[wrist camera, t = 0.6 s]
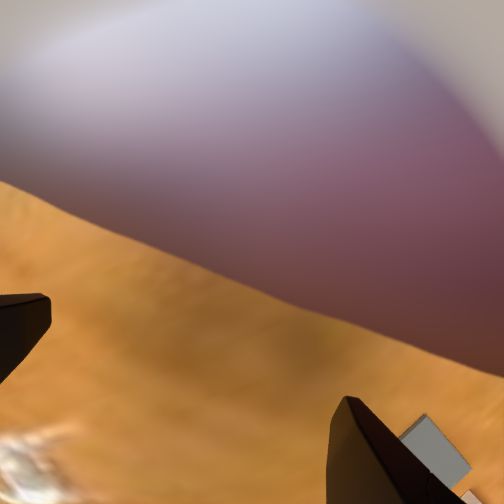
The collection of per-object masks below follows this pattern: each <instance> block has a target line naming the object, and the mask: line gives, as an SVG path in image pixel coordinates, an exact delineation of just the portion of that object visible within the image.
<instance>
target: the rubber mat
mask: <svg viewBox="0 0 504 504" xmlns="http://www.w3.org/2000/svg"><path fill="white" fill-rule="evenodd" d="M398 439H399V440H400V441H401V442H402V443H403V444H404V445H405V446H406V447H407V448H408V449H409V450H410V451H411V452H412V453H413V454H414V455H415V456H416V457H417V458H418V459H419V460H420V461H421V462H422V463H423V464H424V465H425V466H426V467H427V468H428V469H429V470H430V471H431V472H430V473H433V474H434V475H435V476H436V477H437V478H438V479H439V480H440V481H441V482H443V483H444V484H445V485H446V486H447V487H448V488H449V489H451V488H452V487H454V486H455V485H456V484H457V483H458V482H459V481H460V480H461V479H462V478H463V477H464V476H465V475H466V474H467V473H468V472H469V471H470V470H471V469H472V468H471V467H470V466H469V465H468V463H467V462H466V461H465V460H464V459H463V457H462V456H461V455H460V454H459V453H458V452H457V450H456V449H455V448H454V447H453V446H452V445H451V443H450V442H449V441H448V440H447V439H446V438H445V436H444V435H443V434H442V433H441V432H440V431H439V429H438V428H437V427H436V426H435V425H434V424H433V422H432V421H431V420H430V419H429V418H428V417H427V416H426V415H425V414H424V415H423V416H421V417H420V418H419V419H418V420H417V421H416V422H415V423H414V424H413V425H412V426H411V427H410V428H409V429H408V430H407V431H406V432H405V433H403V434H402V435H401V436H400V437H399V438H398Z"/></svg>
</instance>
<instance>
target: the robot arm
mask: <svg viewBox="0 0 504 504" xmlns="http://www.w3.org/2000/svg"><path fill="white" fill-rule="evenodd" d="M51 322H52V317H51V300H50V298H49V297H47V296H45V295H43V294H41V293H30V294H8V295H0V384H1V383H2V382H3V381H4V380H5V379H6V378H7V377H8V376H9V375H10V373H11V372H12V371H13V370H14V369H15V368H16V367H17V366H18V365H19V364H20V363H21V362H22V361H23V360H24V359H25V357H26V356H27V355H28V354H29V353H30V351H31V350H32V349H33V348H34V346H35V345H36V344H37V343H38V341H39V340H40V339H41V338H42V336H43V335H44V334H45V333H46V331H47V330H48V329H49V328H50V326H51ZM430 472H431V471H430V470H429V469H428V468H427V467H426V466H425V465H424V464H423V463H422V462H421V461H420V460H419V459H418V458H417V457H416V456H415V455H414V454H413V453H412V452H411V451H410V450H409V449H408V448H407V447H406V446H405V445H404V444H403V443H402V442H401V441H400V440H399V439H398V438H397V437H396V436H395V435H394V434H393V433H392V432H391V431H390V429H389V428H388V427H387V426H386V425H385V424H384V423H383V422H382V421H381V420H380V419H379V418H378V417H377V416H376V415H375V414H374V413H373V412H372V411H371V410H370V409H369V408H368V407H367V406H366V405H365V404H364V403H363V402H362V401H361V400H360V399H359V398H357V397H352V396H344V397H343V398H342V400H341V402H340V404H339V406H338V408H337V409H336V411H335V413H334V415H333V417H332V420H331V424H330V435H329V445H328V455H327V465H326V504H467V503H465V502H464V501H463V500H462V499H461V498H459V497H458V496H457V495H456V494H455V493H453V492H452V491H451V490H450V489H449V488H448V487H447V486H446V485H445V484H444V483H443V482H441V481H440V480H439V479H438V478H437V477H436V476H435V475H434V474H433V473H430Z"/></svg>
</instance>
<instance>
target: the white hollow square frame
mask: <svg viewBox="0 0 504 504" xmlns="http://www.w3.org/2000/svg"><path fill="white" fill-rule="evenodd" d="M460 498H461V499H462V500H463V501H464V502H465V503H467V504H482V503H481V502H480V501H479V500H478V499H477V498H476V497H475V496H474V495H473V494H472V493H471V492H470V491H469V490H468V491H467V492H466V493H465V494H464V495H463V496H462V497H460Z"/></svg>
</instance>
